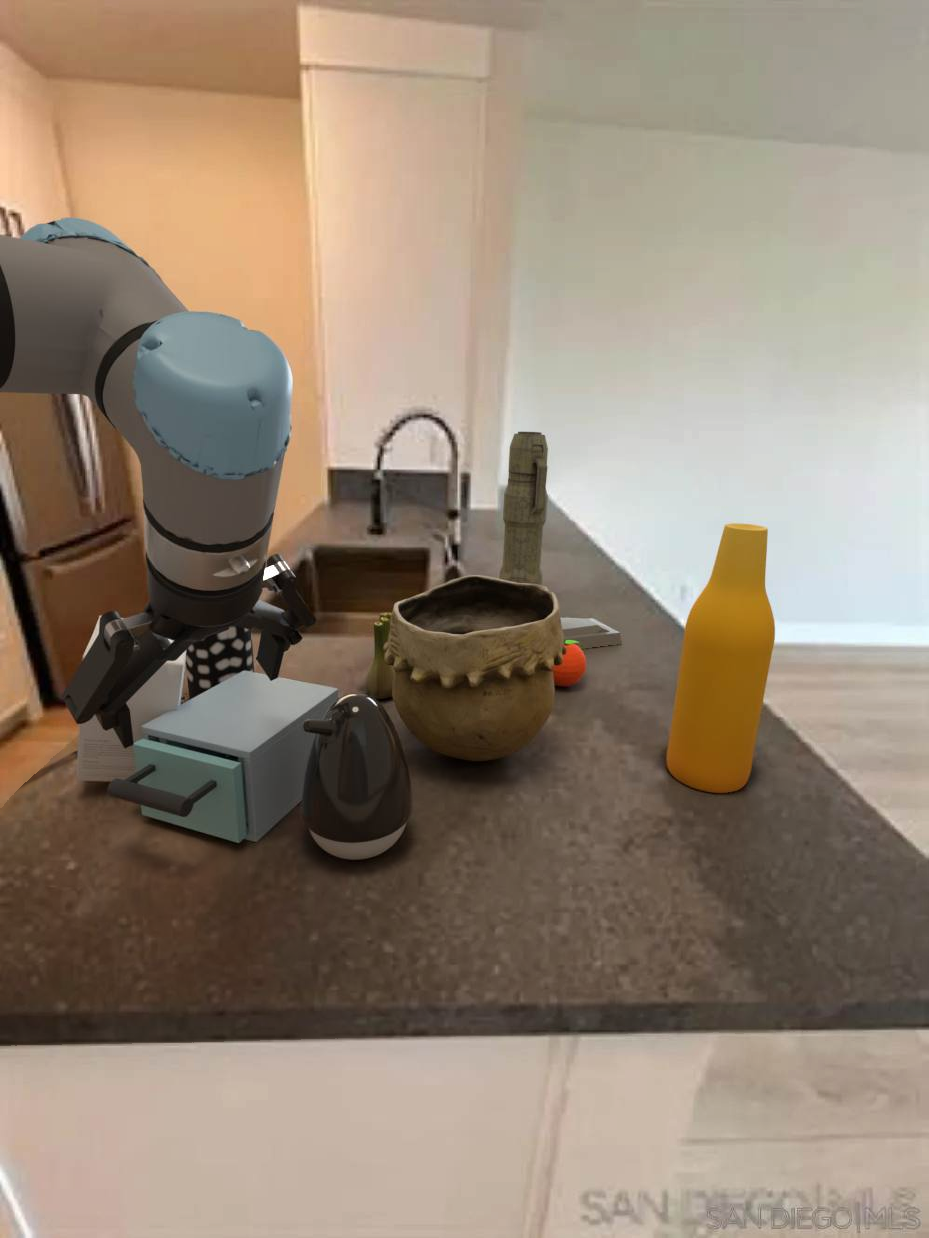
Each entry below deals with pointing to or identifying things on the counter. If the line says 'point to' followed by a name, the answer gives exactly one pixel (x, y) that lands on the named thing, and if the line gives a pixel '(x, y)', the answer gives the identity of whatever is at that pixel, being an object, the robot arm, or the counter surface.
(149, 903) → the counter surface
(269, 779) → the small drawer unit
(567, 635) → the soap mold
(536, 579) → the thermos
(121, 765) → the rectangular carton
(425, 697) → the clay pot
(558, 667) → the clementine
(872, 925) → the counter surface
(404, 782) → the pump dispenser
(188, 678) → the white-spotted black cylinder
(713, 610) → the beer bottle
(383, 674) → the fennel bulb
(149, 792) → the mint green drawer
